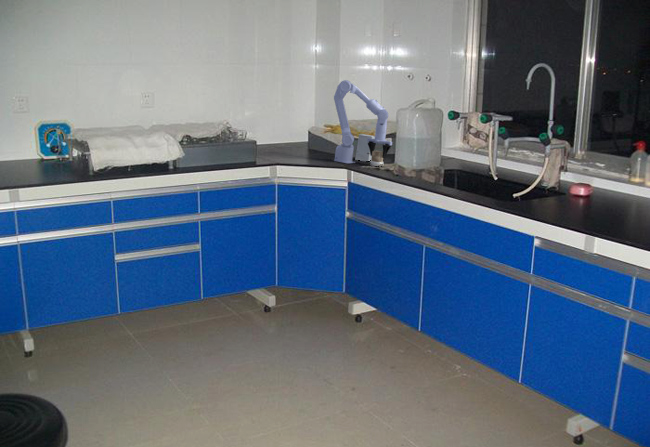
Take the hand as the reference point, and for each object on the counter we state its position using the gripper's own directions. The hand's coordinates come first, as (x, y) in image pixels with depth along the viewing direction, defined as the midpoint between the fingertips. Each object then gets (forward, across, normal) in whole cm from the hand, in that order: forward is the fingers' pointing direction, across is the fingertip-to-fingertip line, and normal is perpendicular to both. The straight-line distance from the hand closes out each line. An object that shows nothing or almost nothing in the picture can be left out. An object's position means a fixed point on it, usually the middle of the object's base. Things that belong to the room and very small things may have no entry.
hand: (377, 156), depth 371 cm
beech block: (+2, 0, 0) cm, 3 cm away
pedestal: (+5, 0, 0) cm, 5 cm away
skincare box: (+5, -15, +10) cm, 19 cm away
